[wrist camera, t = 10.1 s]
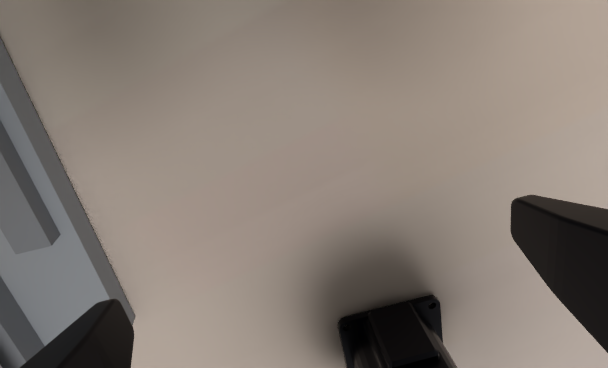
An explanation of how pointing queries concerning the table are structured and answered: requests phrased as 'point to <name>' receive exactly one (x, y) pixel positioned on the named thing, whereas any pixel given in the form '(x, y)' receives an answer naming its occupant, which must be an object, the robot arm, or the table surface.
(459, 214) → the table surface
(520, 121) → the table surface
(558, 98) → the table surface
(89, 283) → the grey stepped stand
